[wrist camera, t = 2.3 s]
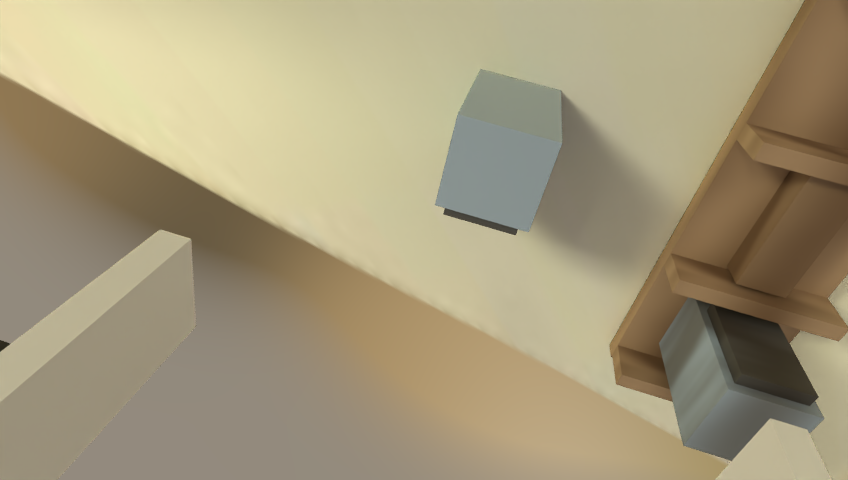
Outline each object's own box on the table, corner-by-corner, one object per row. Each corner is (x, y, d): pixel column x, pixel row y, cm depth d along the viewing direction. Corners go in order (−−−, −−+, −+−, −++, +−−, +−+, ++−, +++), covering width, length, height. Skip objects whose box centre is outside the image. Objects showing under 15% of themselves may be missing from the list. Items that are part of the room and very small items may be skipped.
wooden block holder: (609, 345, 32) (623, 457, 25) (837, -57, 20) (977, -45, 13) (739, 384, 31) (788, 509, 25) (1055, -5, 19) (1316, 35, 13)
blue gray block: (561, 90, 25) (562, 143, 19) (531, 175, 27) (524, 244, 22) (480, 69, 25) (457, 114, 19) (458, 154, 28) (432, 217, 22)
